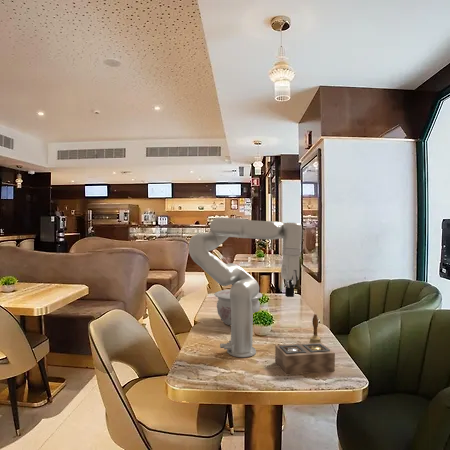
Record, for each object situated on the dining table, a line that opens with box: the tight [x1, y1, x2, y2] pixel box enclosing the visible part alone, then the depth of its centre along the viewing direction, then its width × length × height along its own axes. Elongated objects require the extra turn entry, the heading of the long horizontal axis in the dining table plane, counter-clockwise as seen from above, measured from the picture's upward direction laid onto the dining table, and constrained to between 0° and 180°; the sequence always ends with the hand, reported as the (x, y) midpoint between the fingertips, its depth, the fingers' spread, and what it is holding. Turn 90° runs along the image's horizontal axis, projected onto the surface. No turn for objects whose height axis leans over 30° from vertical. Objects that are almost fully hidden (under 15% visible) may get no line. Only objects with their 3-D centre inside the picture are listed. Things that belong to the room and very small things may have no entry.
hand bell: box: [309, 313, 322, 343], centre depth 159 cm, size 8×8×16 cm
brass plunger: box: [311, 346, 321, 351], centre depth 141 cm, size 4×4×7 cm
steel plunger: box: [287, 348, 298, 352], centre depth 139 cm, size 4×4×7 cm
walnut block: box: [274, 342, 336, 375], centre depth 140 cm, size 20×12×7 cm, turn 101°
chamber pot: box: [214, 288, 263, 326], centre depth 200 cm, size 28×28×21 cm
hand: (289, 296), depth 146 cm, fingers closed
